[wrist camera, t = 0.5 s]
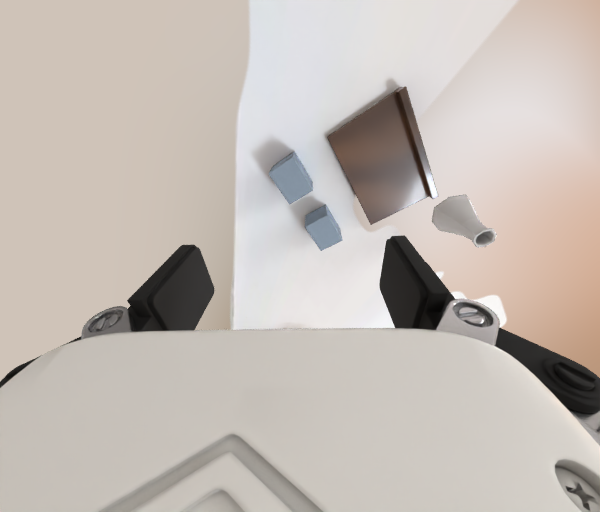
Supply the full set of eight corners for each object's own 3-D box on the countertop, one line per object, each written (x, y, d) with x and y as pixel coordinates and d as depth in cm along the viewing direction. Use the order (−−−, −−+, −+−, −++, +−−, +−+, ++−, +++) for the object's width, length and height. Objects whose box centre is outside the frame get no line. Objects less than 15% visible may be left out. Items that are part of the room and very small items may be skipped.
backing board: (327, 136, 36) (328, 138, 34) (400, 87, 32) (406, 86, 30) (369, 222, 44) (372, 228, 42) (432, 191, 40) (438, 196, 38)
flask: (473, 220, 43) (512, 247, 35) (434, 235, 45) (462, 263, 37) (470, 187, 40) (512, 208, 31) (427, 205, 42) (456, 229, 33)
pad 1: (272, 166, 39) (268, 173, 35) (294, 151, 37) (292, 156, 33) (291, 194, 42) (289, 204, 38) (312, 181, 40) (312, 190, 36)
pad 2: (305, 215, 44) (304, 227, 40) (325, 204, 42) (327, 214, 38) (320, 238, 47) (321, 251, 43) (339, 228, 45) (342, 240, 41)
